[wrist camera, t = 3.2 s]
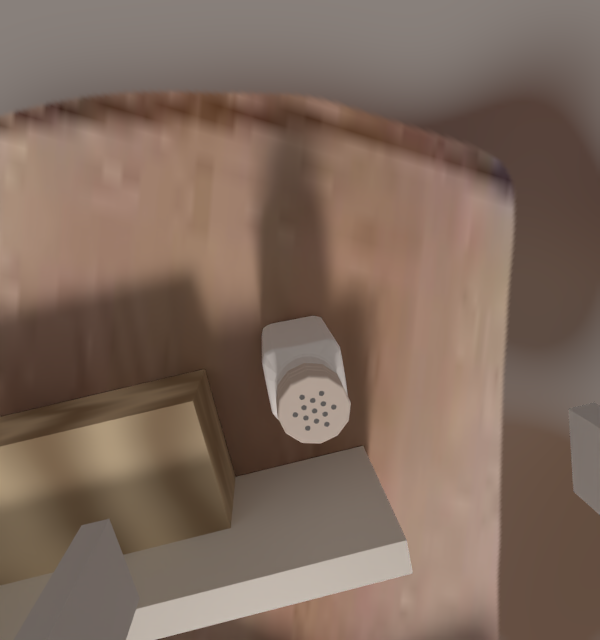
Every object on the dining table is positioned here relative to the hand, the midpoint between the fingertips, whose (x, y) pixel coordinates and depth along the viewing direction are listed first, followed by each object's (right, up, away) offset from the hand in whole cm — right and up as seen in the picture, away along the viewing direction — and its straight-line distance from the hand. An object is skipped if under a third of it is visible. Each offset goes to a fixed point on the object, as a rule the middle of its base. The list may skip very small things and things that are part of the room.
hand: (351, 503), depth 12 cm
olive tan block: (-14, -4, +16) cm, 22 cm away
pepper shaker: (-2, +3, +16) cm, 16 cm away
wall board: (-11, -8, +17) cm, 21 cm away
